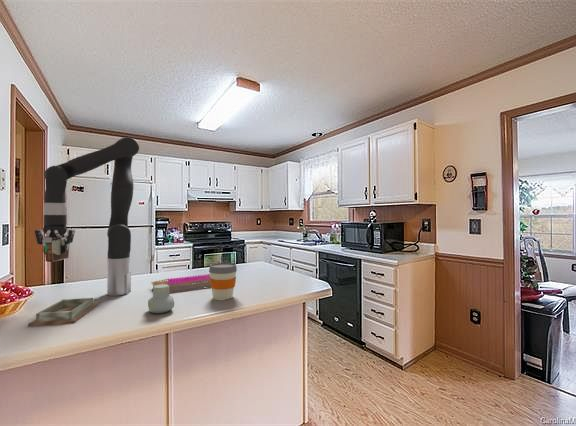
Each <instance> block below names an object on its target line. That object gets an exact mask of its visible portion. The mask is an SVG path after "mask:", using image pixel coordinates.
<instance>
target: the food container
mask: <svg viewBox="0 0 576 426" xmlns="http://www.w3.org/2000/svg"><path fill="white" fill-rule="evenodd" d="M64 235H65V237H66V240H67V237H68V234H64ZM62 238H63V237H62ZM42 242H44V246H45V253H44V256H45V262H48V263H54V262H59V261H63V260H68V259H69V258H70V257H69V256H70V248H71V243H70V244H68V245H67V252H66V253H65V254H61V242H60V241H59V238H52V237H45V236H43V240H42Z"/></svg>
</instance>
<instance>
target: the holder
mask: <svg viewBox="0 0 576 426" xmlns="http://www.w3.org/2000/svg"><path fill="white" fill-rule="evenodd" d="M99 304H100V302H94V297H86V298H84V297H83V298H82V297H81V298H65V299H61V300H60V301H57V302H56V303H54V304H51V305H50V306H48V307H46V308H44V309H42V310H41V311H39V312H37V313H35V314H36V315H35V319H34V320H32V321H29V322H28V323H27V326H28V327H33V326H34V327H35V326H50V325H62V324H75V323H77V322H78V321H79V320H81V319H82V318H83V317H85V316H86V315H88V313H90V312H91V311H93V310H94V309H95V308H96V307H99V306H100V305H99Z"/></svg>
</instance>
